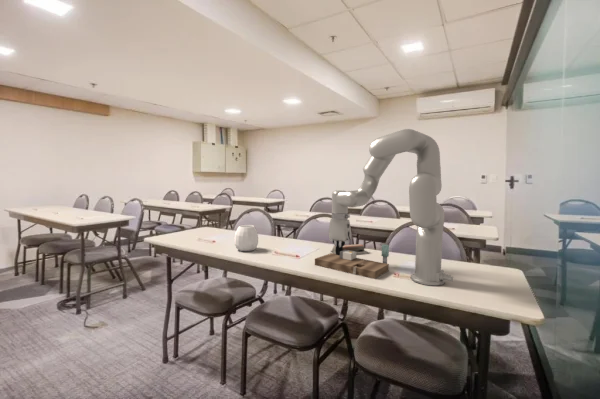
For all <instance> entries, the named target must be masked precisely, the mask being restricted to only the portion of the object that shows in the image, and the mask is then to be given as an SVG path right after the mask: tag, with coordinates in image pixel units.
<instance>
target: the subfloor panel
mask: <svg viewBox="0 0 600 399" xmlns="http://www.w3.org/2000/svg"><path fill="white" fill-rule="evenodd" d="M314 266H318V267H322V268H326V269H331V270H335V271H339V272H343V273H347V274H351V275H356V276H360V277H364V278H370V279H374V280H375V279H377V278H379V277H380V276H382V275H384V274H387V272H389V269H390V265H389V263H387V264H386V263H383V262H381V261H380V262H379V261H375V260H369V259H364V258H359V257H356V258H355V259H353V260H347V259H342V258H340V255H336V254H334V253H332V252H331V253H328V254H325V255H322V256H319V257H316V258H314Z"/></svg>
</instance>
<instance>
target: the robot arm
mask: <svg viewBox="0 0 600 399" xmlns="http://www.w3.org/2000/svg"><path fill="white" fill-rule="evenodd" d="M406 152H407V153H411V154H412V153H413V154H416V158H417V160H416V175H415V176H413V178H411V181H410V183H409V186H408V194H409V196H408V197H409V198H408V199H409V200H408V201H409V202H408V203H409V216H410V217H409V218H410V220H411V222H412V224H414V226H416V233H415V234H416V235H415V257H414V258H415V261H414V262H415V264H414V265H415V266H414V273H412V274H410V279H411V281H413V282H415V283H417V284H421V285H425V286H442V285H444V284H445V283H446V281H447V282H453V280H454V277H453V276H452V275H451V274H447V273H444V269H442V261H443V260H442V257H443V255H442V254H443V237H444V236H443V233H444V225H445V217H446V216H445V214H446V213H445V210H444V207H443V206H442V205H441V204H440V203H438V202H437V196H439V194H440V193H441V191H442V187H443V186H442V171H441V169H442V168H441V152H440V148H439V144H438V143H437V142H436V140H435V139H434V138H433V137H431V136H430V135H427V134H425V133H423V132H420V131H418V130H414V129H411V128H405V129H400V130H397V131H395V132H392V133H389V134H386V135H382V136H380V137H377V138H375V139H374V140H373V141H372V142H371V143H370V145H369V155H370V157H369V158H368V160H367V161H366V162H365V165H364V166H363V168H362V170H363V174H364V179H363V182H362V183H361V185H360V186H359V188H358V189H357V190H333V191H332V193H331V218H330V220H329V226H328V227H329V228H328V238H329V239H328V240H329V241H330V242H331V243H333V244H334V245H333V246H335V247H336V255H340V251H343V246H344V245H350V240H351V239H352V230H351V229H352V228H351V222H350V218H351V215H350V214H348V213H349V212H348V211H349V208H357V207H363V206H365V205H366V204H367V203H369V201H370V200H371V198H372V197H373V195H374V194H375V193H376V191H377V189H378V186H379V183H380V179H381V177H382V176H383V174H384V173H385V171H386V169H388V167H389V165H390V164H391V163H392V161H393V160H394V158H395V157H396V155H398V154H403V153H406Z"/></svg>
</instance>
